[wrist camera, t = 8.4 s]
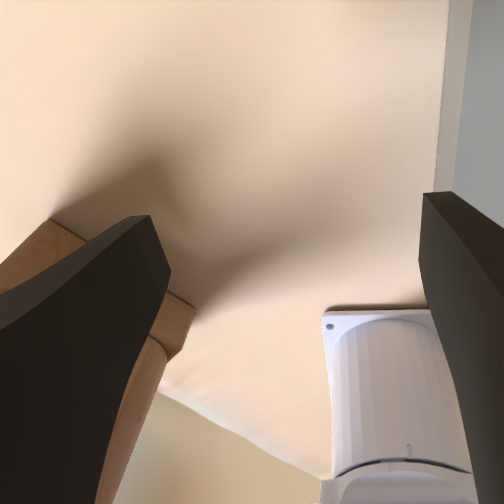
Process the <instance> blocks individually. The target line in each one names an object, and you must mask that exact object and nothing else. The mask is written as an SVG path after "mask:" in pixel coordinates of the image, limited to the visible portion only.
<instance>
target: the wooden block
mask: <svg viewBox="0 0 504 504" xmlns="http://www.w3.org/2000/svg"><path fill="white" fill-rule="evenodd" d="M86 243H87V242H86V241H84V240H83V239H81V238H80V237H78V236H76V235H75V234H73V233H71V232H70V231H68V230H66V229H65V228H63V227H61V226H60V225H58V224H57V223H55V222H53V221H51V220H47V221H45V222H43V223H42V224H41V225H40V226H39V227H38V228H37V229H36V230H35V231H34V232H33V233H32V234H31V235H30V236H29V237H28V238H27V239H26V240H25V241H24V242H23V243H22V244H21V245H20V246H19V247H18V248H17V249H16V250H14V251H13V252H12V253H11V254H10V255H9V256H8V257H7V258H6V259H5V260H4V261H3V262H2V263H1V264H0V295H1V294H3V293H5V292H6V291H8V290H10V289H12V288H14V287H16V286H18V285H20V284H21V283H23V282H25V281H27V280H29V279H30V278H32V277H34V276H35V275H37V274H39V273H40V272H42V271H44V270H45V269H47V268H48V267H50V266H52V265H53V264H55V263H56V262H58V261H60V260H61V259H63V258H64V257H66V256H68V255H69V254H71V253H72V252H74V251H75V250H77V249H78V248H80V247H81V246H83V245H84V244H86ZM194 315H195V309H194V308H193V307H191V306H190V305H188V304H187V303H185V302H183V301H182V300H180V299H178V298H177V297H175V296H173V295H172V294H170V293H169V292H167V291H166V293H165V296H164V300H163V302H162V305H161V307H160V309H159V312H158V314H157V316H156V319H155V321H154V323H153V325H152V328H151V330H150V332H149V334H148V336H147V339H146V341H145V343H144V345H143V348H142V350H141V352H140V354H139V356H138V359H137V361H136V363H135V365H134V368H133V370H132V373H131V375H130V378H129V380H128V383H127V386H126V389H125V392H124V395H123V398H122V402H121V405H120V408H119V411H118V414H117V418H116V421H115V425H114V428H113V431H112V435H111V438H110V442H109V445H108V449H107V453H106V457H105V461H104V465H103V469H102V473H101V477H100V481H99V485H98V489H97V494H96V499H95V504H112V503H113V500H114V497H115V495H116V492H117V490H118V487H119V485H120V482H121V480H122V477H123V474H124V472H125V469H126V467H127V464H128V462H129V459H130V456H131V454H132V451H133V449H134V446H135V444H136V441H137V438H138V436H139V433H140V431H141V428H142V426H143V423H144V421H145V418H146V415H147V413H148V410H149V408H150V405H151V403H152V400H153V397H154V395H155V392H156V390H157V387H158V385H159V382H160V380H161V377H162V374H163V372H164V369H165V367H166V364H167V363H168V362H169V361H170V360H171V359H172V358H173V357H174V356H175V355H176V354H178V353H179V352H180V351H181V350H182V348H183V345H184V342H185V339H186V337H187V334H188V331H189V328H190V326H191V323H192V320H193V318H194Z"/></svg>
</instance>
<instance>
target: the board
mask: <svg viewBox="0 0 504 504" xmlns="http://www.w3.org/2000/svg"><path fill="white" fill-rule="evenodd" d="M443 191H452V192H453V193H455V194H456V195H458V196H459V197H461V198H462V199H463V200H465V201H466V202H468V203H469V204H470V205H472V206H473V207H474V208H476V209H477V210H478V211H480V212H481V213H483V214H484V215H485V216H487V217H488V218H490V219H491V220H492V221H494V222H495V223H497V224H498V225H500V226H501V227H503V228H504V0H450V5H449V17H448V29H447V41H446V53H445V65H444V76H443V88H442V100H441V112H440V124H439V136H438V148H437V159H436V171H435V183H434V192H443Z"/></svg>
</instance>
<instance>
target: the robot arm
mask: <svg viewBox="0 0 504 504" xmlns="http://www.w3.org/2000/svg"><path fill="white" fill-rule="evenodd" d="M418 261H419V266H420V272H421V278H422V283H423V288H424V293H425V297H426V300H427V303H428V306H429V309H416V310H368V311H328V312H325V313H323V314H322V317H321V322H322V330H323V339H324V347H325V355H326V363H327V371H328V380H329V388H330V396H331V402H332V479H331V480H322V481H321V492H320V503H312V504H504V228H503V227H501V226H500V225H498V224H497V223H495V222H494V221H492V220H491V219H490V218H488V217H487V216H485V215H484V214H483V213H481V212H480V211H478V210H477V209H476V208H474V207H473V206H472V205H470V204H469V203H468V202H466V201H465V200H463V199H462V198H461V197H459V196H458V195H456V194H455V193H453V192H452V191H443V192H431V193H423V205H422V218H421V232H420V246H419V259H418ZM170 274H171V270H170V267H169V264H168V262H167V259H166V256H165V254H164V251H163V249H162V246H161V243H160V241H159V238H158V236H157V233H156V230H155V228H154V225H153V222H152V220H151V217H150V215H143V216H130V217H128V218H126V219H124V220H122V221H120V222H119V223H117V224H115V225H114V226H112V227H110V228H109V229H107V230H106V231H104V232H103V233H101V234H99V235H98V236H96V237H95V238H93V239H92V240H90V241H89V242H87V243H86V244H84V245H83V246H81V247H80V248H78V249H77V250H75V251H74V252H72V253H71V254H69V255H68V256H66V257H64V258H63V259H61V260H60V261H58V262H56V263H55V264H53V265H52V266H50V267H48V268H47V269H45V270H44V271H42V272H40V273H39V274H37V275H35V276H34V277H32V278H30V279H29V280H27V281H25V282H23V283H21V284H20V285H18V286H16V287H14V288H12V289H10V290H8V291H6V292H5V293H3V294H1V295H0V504H95V499H96V494H97V489H98V485H99V481H100V477H101V473H102V469H103V465H104V461H105V457H106V453H107V449H108V445H109V442H110V438H111V435H112V431H113V428H114V425H115V421H116V418H117V414H118V411H119V408H120V405H121V402H122V398H123V395H124V392H125V389H126V386H127V383H128V380H129V378H130V375H131V373H132V370H133V368H134V365H135V363H136V361H137V359H138V356H139V354H140V352H141V350H142V348H143V345H144V343H145V341H146V339H147V336H148V334H149V332H150V330H151V328H152V325H153V323H154V321H155V319H156V316H157V314H158V312H159V309H160V307H161V305H162V302H163V300H164V296H165V293H166V289H167V286H168V282H169V278H170ZM328 324H333V325H328Z"/></svg>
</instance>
